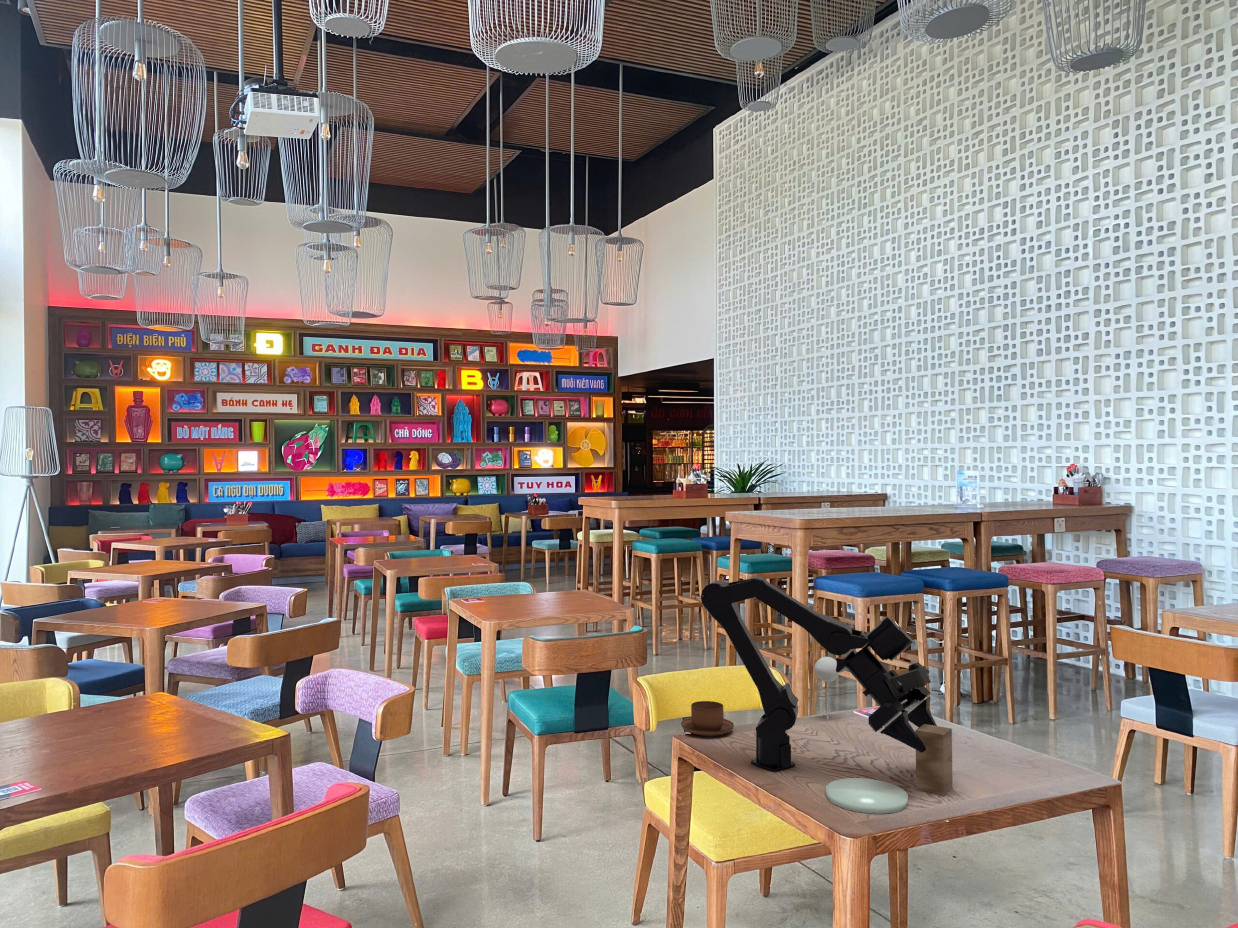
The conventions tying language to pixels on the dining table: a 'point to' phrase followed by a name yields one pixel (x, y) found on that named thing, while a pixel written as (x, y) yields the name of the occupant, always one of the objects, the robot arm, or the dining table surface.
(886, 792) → the dish
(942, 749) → the walnut block
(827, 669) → the lollipop
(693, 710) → the cup and saucer
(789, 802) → the dining table surface
